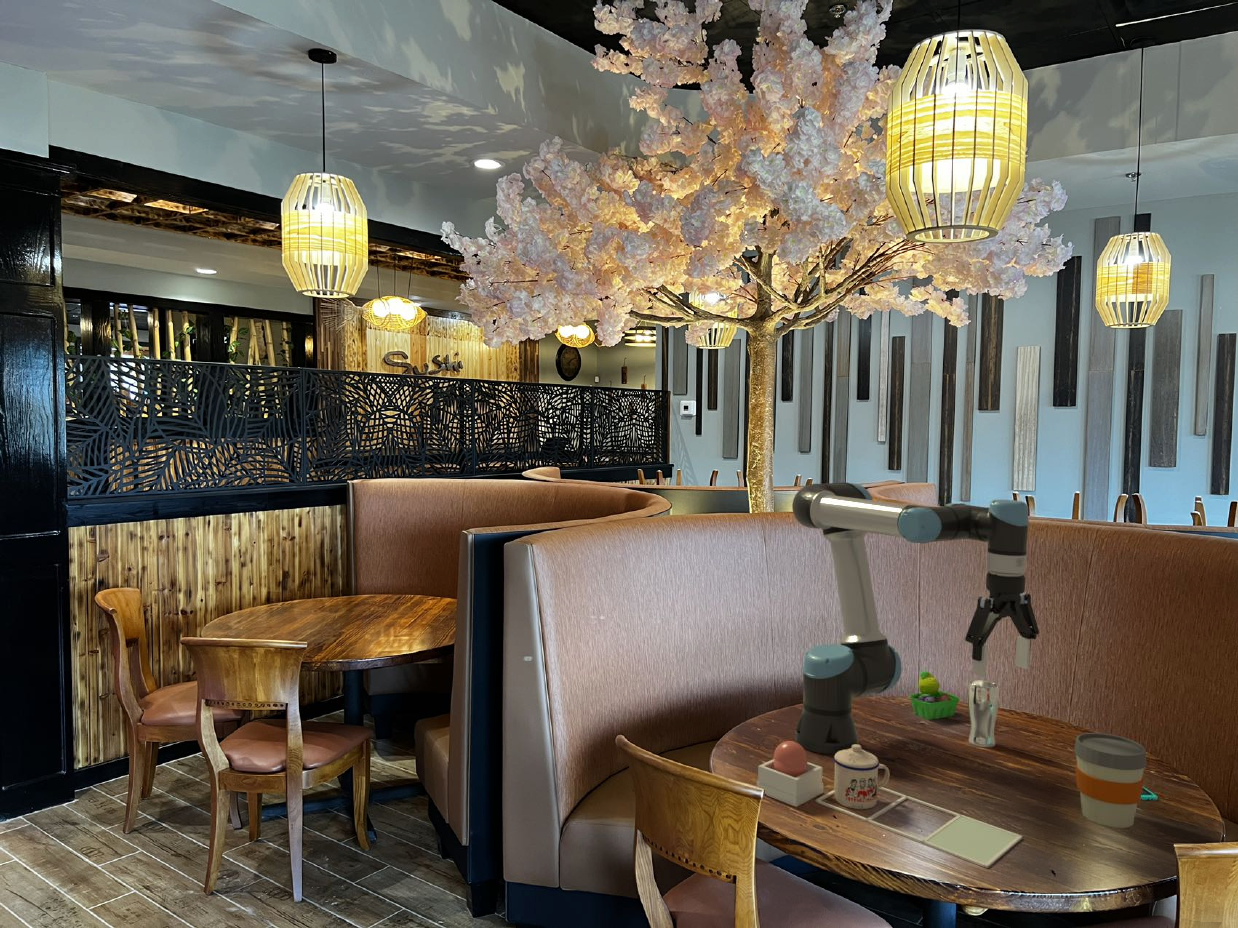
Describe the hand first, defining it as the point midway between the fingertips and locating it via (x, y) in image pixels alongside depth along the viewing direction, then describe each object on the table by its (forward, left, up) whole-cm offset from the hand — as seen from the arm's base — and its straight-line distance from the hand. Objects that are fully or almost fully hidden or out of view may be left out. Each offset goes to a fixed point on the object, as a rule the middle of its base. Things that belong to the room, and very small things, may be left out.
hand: (1000, 671), depth 179 cm
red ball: (-30, -34, -22) cm, 50 cm away
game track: (-6, -26, -26) cm, 37 cm away
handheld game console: (+16, +23, -27) cm, 39 cm away
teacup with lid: (-17, -26, -26) cm, 41 cm away
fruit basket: (-32, +36, -26) cm, 55 cm away
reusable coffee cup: (+20, +4, -26) cm, 33 cm away
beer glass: (-14, +25, -26) cm, 39 cm away
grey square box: (-30, -34, -26) cm, 52 cm away
